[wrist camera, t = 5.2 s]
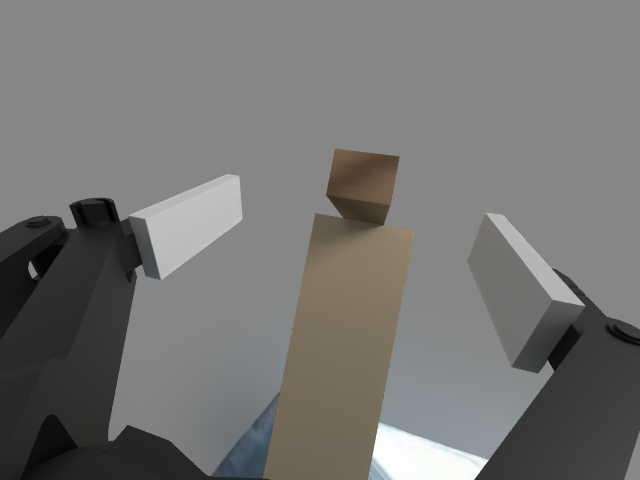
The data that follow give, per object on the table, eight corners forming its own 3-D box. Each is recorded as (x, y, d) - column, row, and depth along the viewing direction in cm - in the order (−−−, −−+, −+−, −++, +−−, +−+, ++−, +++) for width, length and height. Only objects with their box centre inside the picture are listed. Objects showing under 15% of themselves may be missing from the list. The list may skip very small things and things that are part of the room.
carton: (352, 502, 36) (402, 238, 37) (343, 608, 25) (414, 230, 26) (282, 475, 38) (331, 225, 39) (246, 562, 27) (315, 213, 28)
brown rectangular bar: (379, 236, 43) (383, 218, 43) (390, 205, 16) (399, 156, 16) (354, 232, 43) (358, 214, 44) (326, 195, 17) (335, 148, 17)
